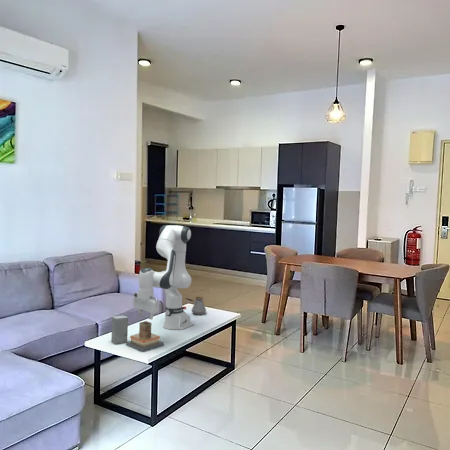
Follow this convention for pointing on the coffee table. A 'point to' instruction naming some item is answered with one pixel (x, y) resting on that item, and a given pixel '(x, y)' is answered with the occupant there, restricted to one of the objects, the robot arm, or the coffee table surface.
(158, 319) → the coffee table surface
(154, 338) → the stand
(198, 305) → the coffee pot
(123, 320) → the skincare box
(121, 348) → the coffee table surface
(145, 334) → the walnut column
